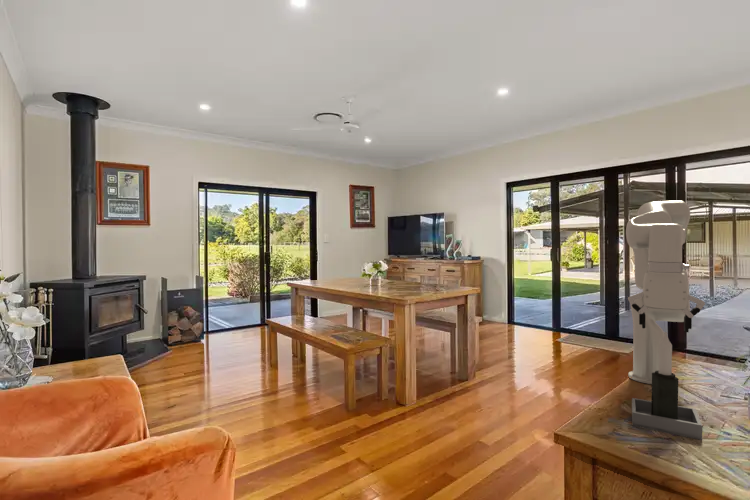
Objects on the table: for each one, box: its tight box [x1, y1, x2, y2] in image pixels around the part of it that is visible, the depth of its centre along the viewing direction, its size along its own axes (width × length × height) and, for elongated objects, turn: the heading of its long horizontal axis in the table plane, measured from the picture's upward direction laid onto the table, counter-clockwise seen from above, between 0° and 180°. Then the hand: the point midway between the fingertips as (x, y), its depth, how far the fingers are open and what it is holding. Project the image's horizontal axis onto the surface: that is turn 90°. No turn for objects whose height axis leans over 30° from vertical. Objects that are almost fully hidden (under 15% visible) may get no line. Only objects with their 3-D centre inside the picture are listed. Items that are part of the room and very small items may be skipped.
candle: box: [650, 331, 679, 420], centre depth 110 cm, size 5×5×25 cm
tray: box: [631, 397, 703, 441], centre depth 110 cm, size 12×15×4 cm
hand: (664, 329), depth 110 cm, fingers open, 9 cm apart
